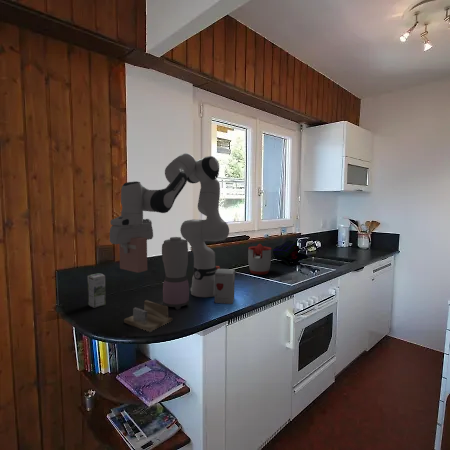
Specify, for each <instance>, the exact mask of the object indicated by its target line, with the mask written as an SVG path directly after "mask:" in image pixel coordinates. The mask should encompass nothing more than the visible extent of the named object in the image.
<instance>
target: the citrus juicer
mask: <svg viewBox="0 0 450 450" xmlns="http://www.w3.org/2000/svg"><path fill="white" fill-rule="evenodd" d="M247 253H248V254H247V256H248V260H247V261H248V262H247V263H248V267H249V271H250V273H251V274H253V275H263V276H264V275H267V274H268V273H269V272H270V268H271V265H272V264H271V263H272V262H271V261H272V247H270V246H264V245H262V244H261V243H258V244H257V245H254V246H253V245H252V246H249V247H248V252H247Z"/></svg>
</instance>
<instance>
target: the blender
mask: <svg viewBox="0 0 450 450" xmlns="http://www.w3.org/2000/svg"><path fill="white" fill-rule="evenodd" d="M188 244H189V242H188V241H187V240H186V239H184V238H183V239H182V236H181V237H180V236H172V237H170V238H169V239H165V240H164V241H163V243H162V244H161V260H162V262H163V268H164V272H165V273H164V274H165V278H164V280H163V284H162V305H164V306H168V308H169V307H171V308H175V310H181V307H184V306H186V307H188V306H189V305H190V284H189V280H188V278H187V272H188V271H187V270H188V265H189V247H188Z"/></svg>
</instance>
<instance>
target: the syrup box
mask: <svg viewBox="0 0 450 450" xmlns="http://www.w3.org/2000/svg"><path fill="white" fill-rule="evenodd" d="M106 299H107V298H106V275H105V274H103V273H94V274H89V275H87V300H88V301H87V304H88V306H89V307H91V308H95V309H96V308H99V307H102V306H106V301H107V300H106Z"/></svg>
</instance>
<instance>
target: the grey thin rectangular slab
mask: <svg viewBox="0 0 450 450" xmlns="http://www.w3.org/2000/svg"><path fill="white" fill-rule="evenodd" d="M132 316H133V320H134V321H137V322H139V323H142V324H145V325H146V324H148V318H147V311H145V310H144V309H142V308H139V307H133V308H132Z"/></svg>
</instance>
